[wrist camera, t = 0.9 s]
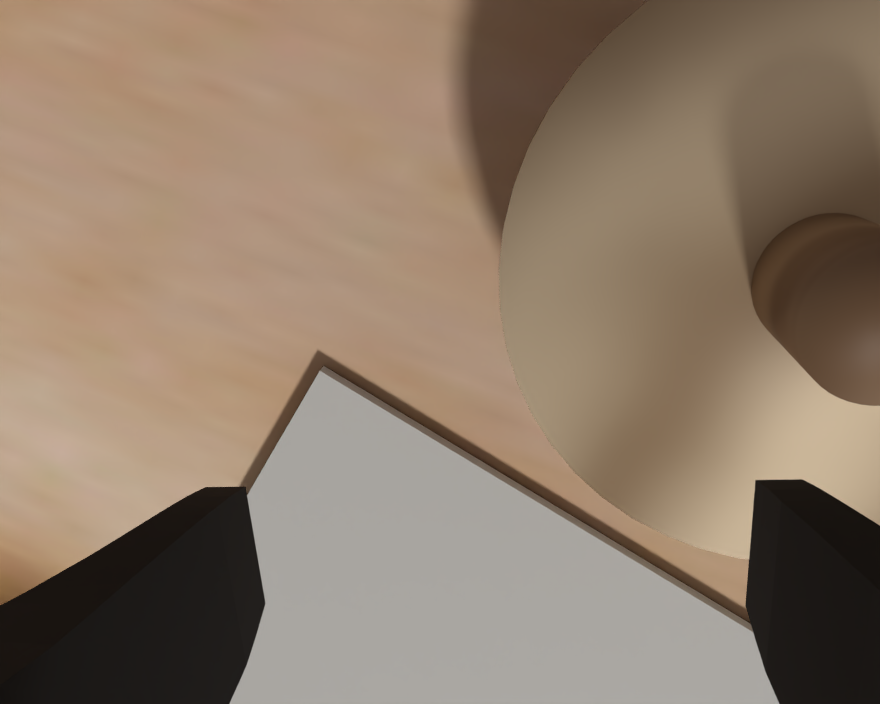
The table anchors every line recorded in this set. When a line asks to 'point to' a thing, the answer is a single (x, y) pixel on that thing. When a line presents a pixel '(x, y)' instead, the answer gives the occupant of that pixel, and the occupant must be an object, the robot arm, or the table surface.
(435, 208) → the table surface
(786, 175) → the lid
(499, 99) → the table surface
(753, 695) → the mat
